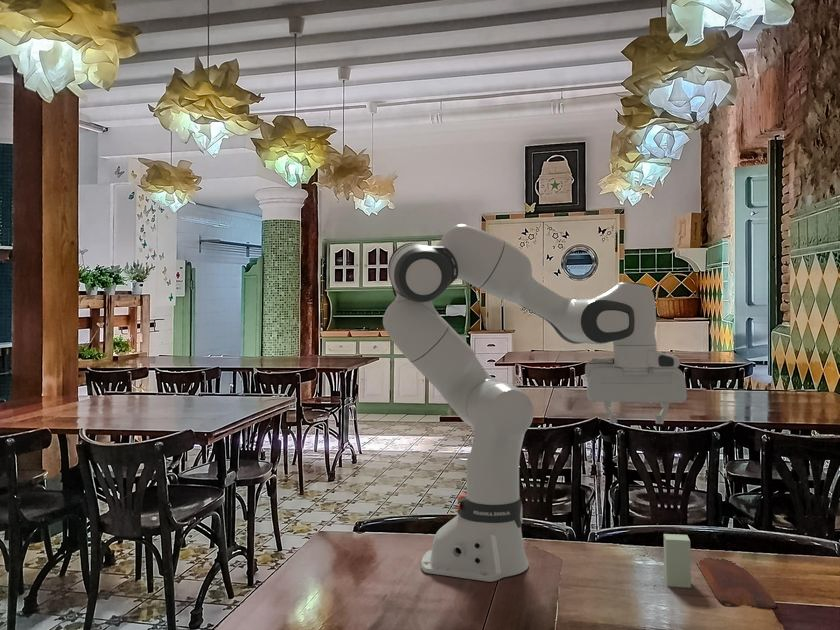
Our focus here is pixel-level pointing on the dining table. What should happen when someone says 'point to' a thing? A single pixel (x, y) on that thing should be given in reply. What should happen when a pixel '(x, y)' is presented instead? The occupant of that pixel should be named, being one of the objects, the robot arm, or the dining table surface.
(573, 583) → the dining table surface
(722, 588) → the wooden tablet
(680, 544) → the sage card box
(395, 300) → the robot arm
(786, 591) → the dining table surface
